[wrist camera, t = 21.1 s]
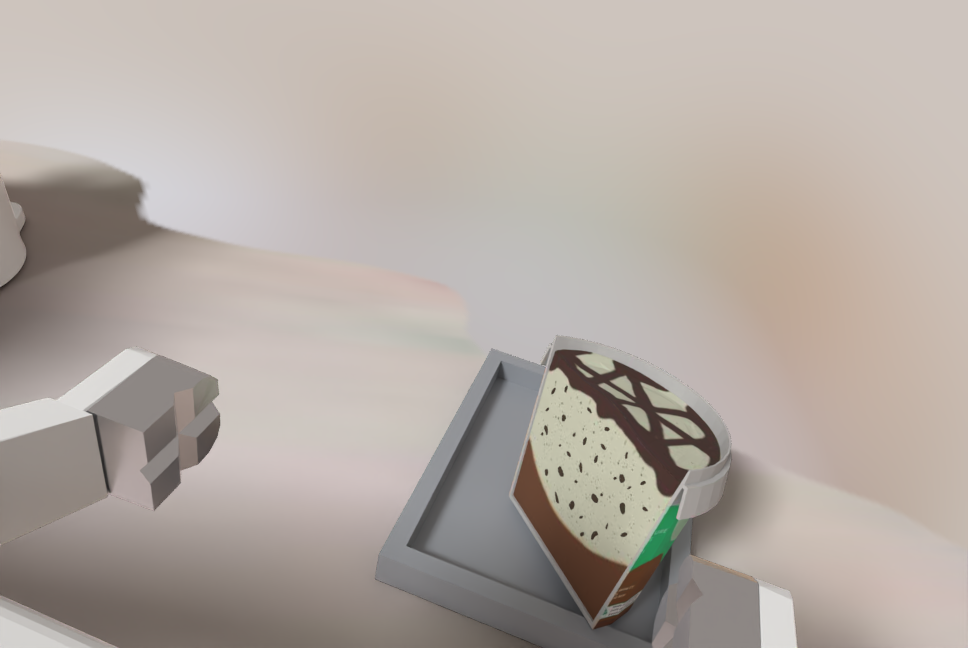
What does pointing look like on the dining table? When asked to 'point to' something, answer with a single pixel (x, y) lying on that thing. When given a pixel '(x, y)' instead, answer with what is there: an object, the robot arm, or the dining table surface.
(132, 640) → the dining table surface
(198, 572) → the dining table surface
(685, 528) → the tray
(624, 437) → the food container
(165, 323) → the dining table surface
